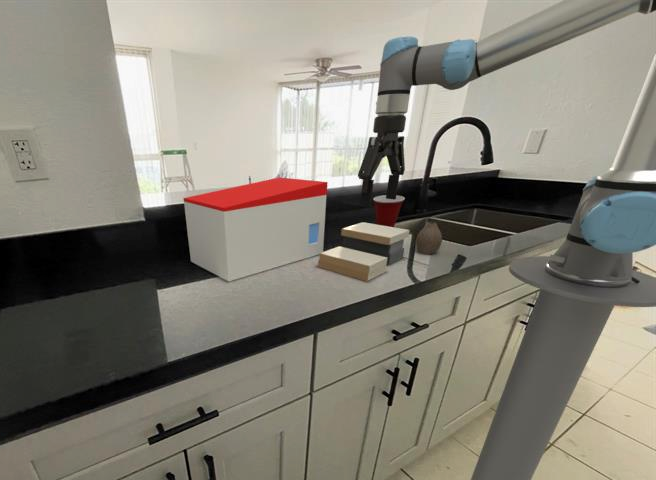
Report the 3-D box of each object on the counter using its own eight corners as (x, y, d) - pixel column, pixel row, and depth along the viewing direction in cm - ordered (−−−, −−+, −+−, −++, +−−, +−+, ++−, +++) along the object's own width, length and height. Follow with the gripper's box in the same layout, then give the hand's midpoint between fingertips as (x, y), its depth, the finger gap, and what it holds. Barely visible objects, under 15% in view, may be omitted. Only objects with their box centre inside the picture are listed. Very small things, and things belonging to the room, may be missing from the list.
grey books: (403, 258, 97) (406, 237, 95) (388, 265, 92) (391, 244, 89) (357, 247, 108) (359, 229, 105) (341, 253, 102) (343, 234, 100)
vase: (427, 257, 97) (433, 227, 94) (409, 250, 103) (413, 222, 99) (444, 253, 100) (451, 224, 96) (426, 247, 105) (431, 219, 102)
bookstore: (323, 252, 103) (328, 181, 94) (228, 281, 84) (222, 196, 76) (279, 239, 118) (279, 177, 109) (190, 261, 99) (182, 188, 91)
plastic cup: (363, 229, 128) (367, 197, 123) (380, 225, 134) (384, 194, 129) (388, 234, 120) (393, 200, 115) (405, 229, 126) (411, 197, 121)
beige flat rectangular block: (408, 236, 95) (409, 230, 95) (388, 245, 89) (389, 237, 88) (362, 228, 106) (362, 222, 105) (341, 235, 99) (341, 228, 98)
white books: (385, 272, 87) (387, 257, 86) (367, 281, 82) (368, 266, 80) (337, 259, 98) (338, 246, 96) (318, 266, 92) (318, 253, 91)
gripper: (400, 117, 94) (388, 195, 103) (349, 114, 79) (340, 206, 88) (427, 115, 89) (412, 197, 98) (378, 113, 74) (366, 210, 83)
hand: (378, 202), depth 93 cm, fingers open, 13 cm apart
